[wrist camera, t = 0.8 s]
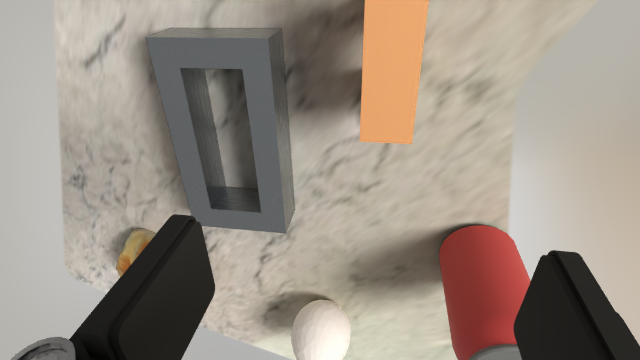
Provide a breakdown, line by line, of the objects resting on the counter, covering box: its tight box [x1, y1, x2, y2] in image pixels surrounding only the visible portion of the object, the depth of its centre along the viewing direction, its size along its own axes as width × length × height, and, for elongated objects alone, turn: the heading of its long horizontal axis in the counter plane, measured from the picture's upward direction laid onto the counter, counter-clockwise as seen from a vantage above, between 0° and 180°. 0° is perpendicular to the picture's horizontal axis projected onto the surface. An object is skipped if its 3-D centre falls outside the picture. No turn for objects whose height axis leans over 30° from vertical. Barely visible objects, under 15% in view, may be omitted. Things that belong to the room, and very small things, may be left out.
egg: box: [291, 300, 351, 360], centre depth 38 cm, size 6×6×8 cm
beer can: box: [439, 225, 531, 360], centre depth 29 cm, size 7×7×12 cm
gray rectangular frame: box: [146, 28, 295, 233], centre depth 30 cm, size 16×8×4 cm, turn 1°
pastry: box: [116, 229, 157, 276], centre depth 40 cm, size 9×7×4 cm
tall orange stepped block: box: [360, 0, 429, 144], centre depth 23 cm, size 8×3×8 cm, turn 1°
